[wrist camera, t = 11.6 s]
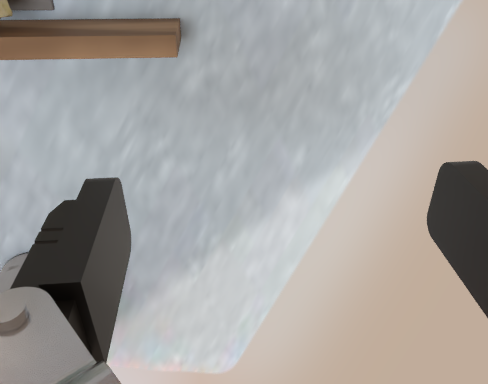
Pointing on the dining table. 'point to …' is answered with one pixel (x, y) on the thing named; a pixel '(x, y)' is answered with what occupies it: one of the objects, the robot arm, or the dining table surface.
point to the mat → (31, 4)
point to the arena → (89, 38)
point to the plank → (5, 9)
